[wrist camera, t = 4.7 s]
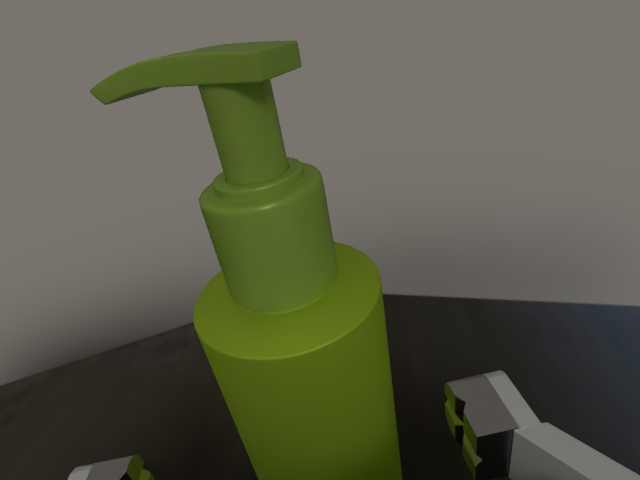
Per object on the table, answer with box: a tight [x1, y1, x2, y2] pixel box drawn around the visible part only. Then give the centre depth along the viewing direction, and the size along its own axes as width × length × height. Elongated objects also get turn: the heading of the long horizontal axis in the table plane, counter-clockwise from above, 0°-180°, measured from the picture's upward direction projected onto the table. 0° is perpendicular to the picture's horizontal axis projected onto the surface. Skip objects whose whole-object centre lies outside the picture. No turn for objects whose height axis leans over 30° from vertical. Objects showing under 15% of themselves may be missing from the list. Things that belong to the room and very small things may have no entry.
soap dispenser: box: [90, 41, 402, 480], centre depth 14 cm, size 6×7×20 cm
